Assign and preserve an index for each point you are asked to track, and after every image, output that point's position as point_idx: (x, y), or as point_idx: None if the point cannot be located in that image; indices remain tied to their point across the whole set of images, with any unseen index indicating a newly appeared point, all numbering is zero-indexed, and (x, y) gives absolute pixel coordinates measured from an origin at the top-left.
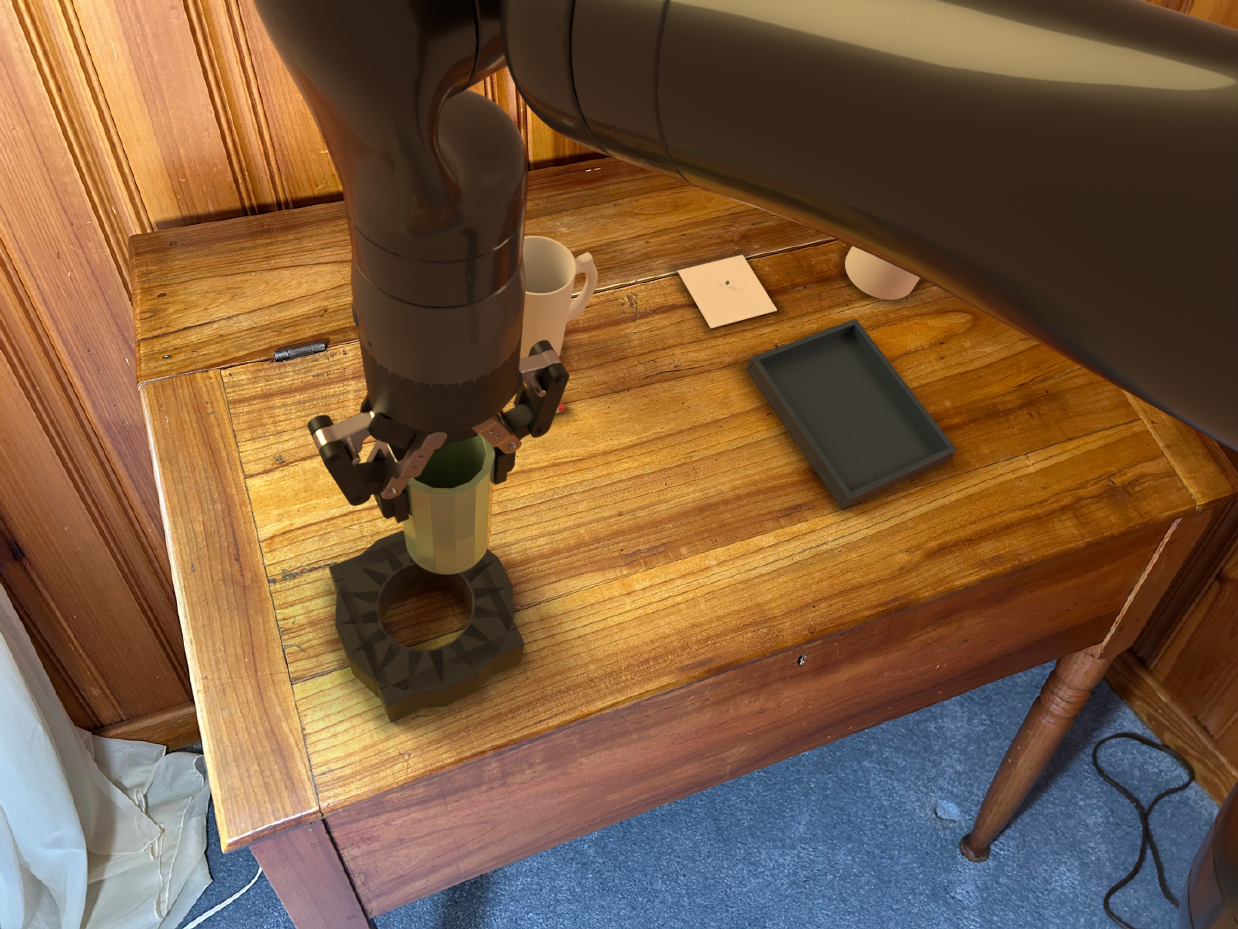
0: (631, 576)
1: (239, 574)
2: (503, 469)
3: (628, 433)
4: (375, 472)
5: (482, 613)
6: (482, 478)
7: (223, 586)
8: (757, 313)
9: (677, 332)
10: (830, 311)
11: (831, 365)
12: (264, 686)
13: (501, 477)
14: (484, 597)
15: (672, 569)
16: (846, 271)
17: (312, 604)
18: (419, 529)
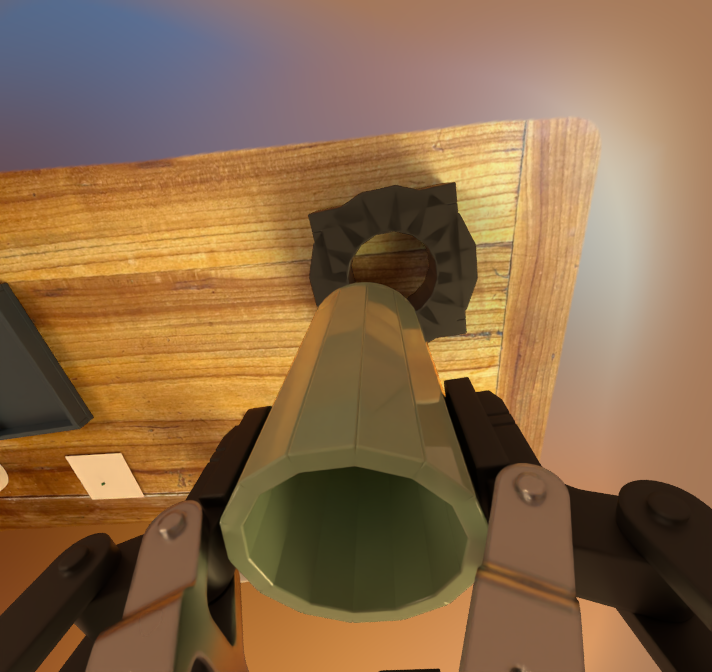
0: (207, 266)
1: (522, 343)
2: (236, 443)
3: (196, 387)
4: (580, 572)
5: (342, 256)
6: (260, 473)
7: (536, 337)
8: (81, 456)
9: (148, 454)
10: (20, 447)
11: (15, 407)
12: (534, 246)
13: (250, 422)
14: (337, 271)
15: (169, 264)
16: (6, 474)
17: (475, 306)
18: (423, 355)
